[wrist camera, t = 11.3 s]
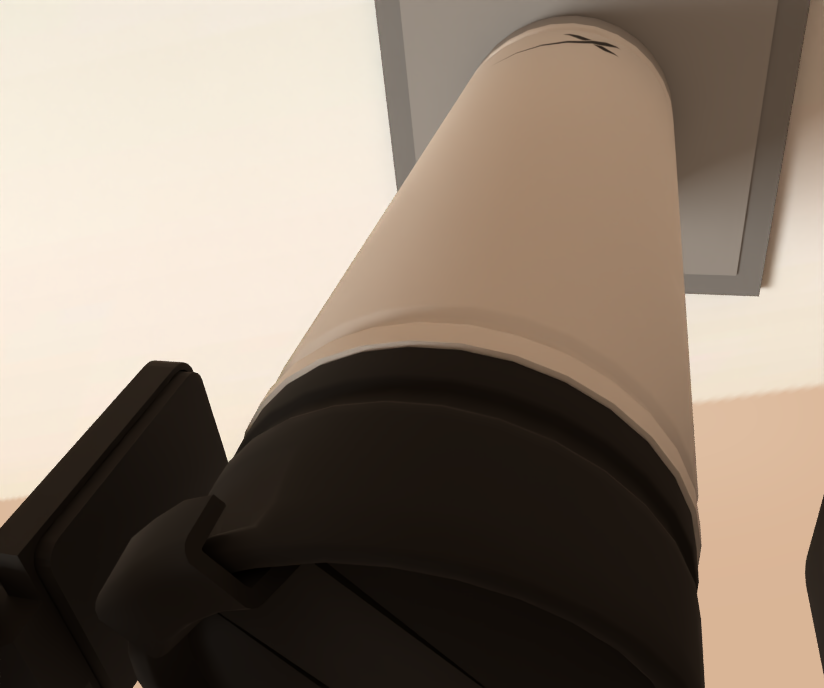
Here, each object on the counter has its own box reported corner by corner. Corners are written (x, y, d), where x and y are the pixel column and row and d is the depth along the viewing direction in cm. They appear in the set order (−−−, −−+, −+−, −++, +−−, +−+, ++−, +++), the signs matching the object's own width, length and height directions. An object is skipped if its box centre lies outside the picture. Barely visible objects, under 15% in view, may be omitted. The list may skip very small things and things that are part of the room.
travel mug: (574, -48, 21) (335, 429, 5) (716, 133, 23) (863, 905, 7) (417, 102, 24) (-15, 663, 9) (551, 250, 26) (395, 940, 10)
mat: (369, -88, 22) (363, -85, 22) (829, -131, 19) (833, -129, 19) (411, 276, 29) (407, 284, 28) (757, 288, 26) (759, 297, 25)
